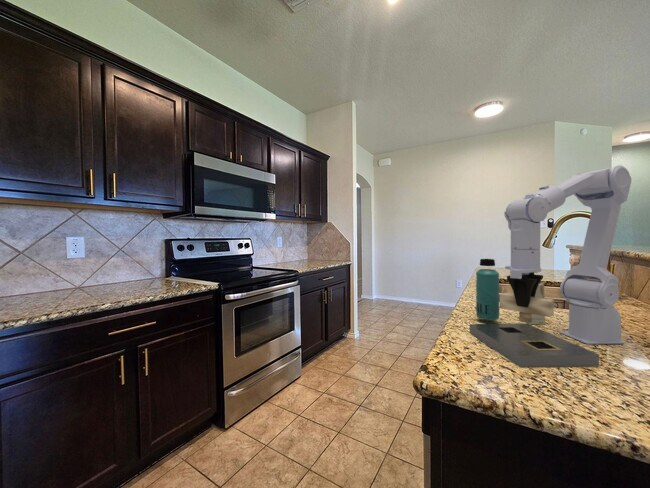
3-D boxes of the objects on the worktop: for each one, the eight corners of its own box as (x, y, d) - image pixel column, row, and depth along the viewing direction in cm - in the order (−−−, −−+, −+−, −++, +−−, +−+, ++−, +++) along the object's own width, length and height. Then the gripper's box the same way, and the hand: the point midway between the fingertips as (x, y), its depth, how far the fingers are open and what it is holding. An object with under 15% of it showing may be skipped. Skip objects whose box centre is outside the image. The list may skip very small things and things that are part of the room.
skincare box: (545, 325, 80) (545, 285, 80) (529, 324, 81) (529, 284, 81) (533, 319, 87) (533, 281, 86) (518, 318, 88) (518, 281, 87)
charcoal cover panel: (526, 332, 75) (527, 323, 75) (598, 366, 55) (598, 354, 55) (469, 333, 75) (469, 323, 75) (520, 367, 55) (520, 355, 55)
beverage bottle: (499, 320, 86) (499, 258, 85) (499, 326, 80) (499, 259, 80) (476, 317, 89) (476, 257, 89) (475, 323, 84) (474, 259, 83)
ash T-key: (553, 324, 62) (553, 299, 62) (550, 327, 60) (550, 301, 60) (503, 315, 70) (503, 292, 69) (499, 317, 68) (499, 294, 68)
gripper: (515, 247, 72) (515, 297, 72) (495, 249, 63) (495, 307, 63) (548, 248, 67) (548, 302, 67) (532, 250, 57) (531, 313, 58)
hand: (524, 305), depth 65 cm, fingers closed on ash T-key, 3 cm apart
